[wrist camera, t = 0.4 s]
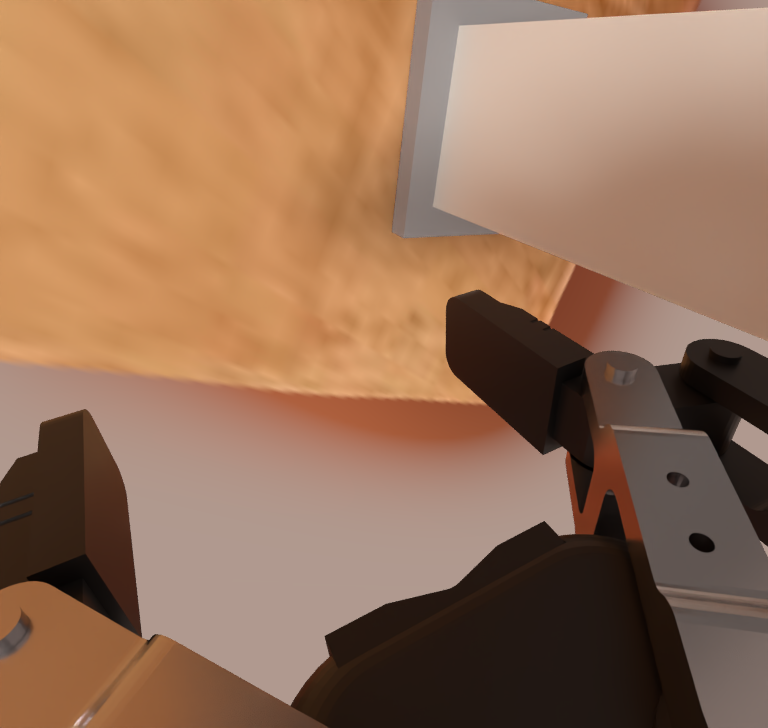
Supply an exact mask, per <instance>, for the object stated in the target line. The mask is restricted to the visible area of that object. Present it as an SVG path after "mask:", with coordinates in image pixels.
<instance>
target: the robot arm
mask: <svg viewBox="0 0 768 728" xmlns="http://www.w3.org/2000/svg"><path fill="white" fill-rule="evenodd" d="M446 358H447V361H448V364H449V367H450V369H451V370H452V372H453V373H454V375H455V376H456V377H457V378H459V379H460V380H461V381H462V382H463V383H464V384H465V385H466V386H467V387H468V388H470V389H471V390H472V391H473V392H474V393H475V394H476V395H477V396H478V397H479V398H481V399H482V400H483V401H484V402H485V403H486V404H487V405H488V406H489V407H491V408H492V409H493V410H494V411H495V412H496V413H497V414H498V415H499V416H501V417H502V418H503V419H504V420H505V421H506V422H507V423H508V424H509V425H510V426H512V427H513V428H514V429H515V430H516V431H517V432H518V433H519V434H520V435H521V436H523V437H524V438H525V439H526V440H527V441H528V442H529V443H530V444H531V445H532V446H534V447H535V448H536V449H537V450H538V451H539V452H540V453H541V454H543V455H544V454H546V453H548V452H551V451H553V450H555V449H557V448H559V447H562V446H563V447H564V448H565V449H566V450H567V454H566V459H565V464H566V471H567V478H568V484H569V491H570V498H571V504H572V511H573V518H574V524H575V534H572V535H561V536H558V535H557V534H556V533H555V532H554V531H553V529H552V528H551V527H550V526H549V525H548V524H547V523H546V522H545V521H544V522H542V523H540V524H538V525H536V526H534V527H532V528H530V529H528V530H526V531H524V532H522V533H521V534H519V535H517V536H515V537H513V538H511V539H509V540H507V541H505V542H503V543H501V544H500V545H498V546H497V547H495V548H494V549H493V550H492V551H491V552H490V553H489V554H488V555H487V556H486V557H485V558H484V559H483V560H482V561H481V562H480V563H479V564H478V565H477V566H476V567H475V568H474V569H473V570H472V571H471V572H470V573H469V574H467V576H465V577H464V578H463V579H462V580H461V581H460V582H459V583H458V584H457V585H456V586H454V587H452V588H450V589H447V590H443V591H439V592H434V593H430V594H426V595H422V596H418V597H413V598H409V599H405V600H401V601H396V602H392V603H388V604H385V605H383V606H382V607H379V608H377V609H375V610H373V611H372V612H370V613H368V614H366V615H364V616H362V617H360V618H358V619H356V620H354V621H353V622H351V623H349V624H347V625H345V626H343V627H341V628H339V629H337V630H335V631H334V632H332V633H330V634H328V635H326V636H325V640H326V644H327V648H328V652H329V656H330V657H329V658H328V659H327V660H326V661H325V662H324V663H323V664H321V665H320V666H319V667H318V668H317V670H316V671H315V672H314V673H313V674H312V676H311V677H310V678H309V679H308V680H307V681H306V682H305V684H304V685H303V687H302V688H301V690H300V691H299V693H298V694H297V696H296V697H295V699H294V700H293V702H292V704H291V706H289V705H288V704H286V703H284V702H282V701H281V700H279V699H277V698H275V697H273V696H272V695H270V694H268V693H266V692H264V691H262V690H261V689H259V688H257V687H256V686H254V685H252V684H250V683H248V682H247V681H245V680H243V679H241V678H239V677H238V676H236V675H234V674H233V673H231V672H229V671H227V670H226V669H224V668H222V667H220V666H218V665H217V664H215V663H213V662H211V661H209V660H208V659H206V658H204V657H202V656H201V655H199V654H197V653H195V652H193V651H192V650H190V649H188V648H186V647H185V646H183V645H181V644H179V643H178V642H176V641H174V640H172V639H170V638H168V637H166V636H163V635H158V634H155V635H153V636H152V637H151V639H150V640H146V639H143V638H142V633H141V624H140V615H139V605H138V596H137V587H136V578H135V569H134V559H133V550H132V540H131V532H130V523H129V513H128V503H127V495H126V490H125V486H124V483H123V479H122V477H121V474H120V471H119V469H118V466H117V464H116V463H115V461H114V459H113V457H112V455H111V453H110V451H109V449H108V447H107V445H106V443H105V441H104V439H103V437H102V435H101V433H100V431H99V429H98V427H97V426H96V424H95V422H94V420H93V418H92V416H91V414H90V413H89V412H88V411H87V410H86V409H84V410H81V411H77V412H74V413H71V414H67V415H64V416H61V417H57V418H54V419H51V420H48V421H44V422H42V423H41V424H40V431H39V442H38V452H36V453H33V454H30V455H27V456H24V457H20V458H18V459H17V460H16V461H15V463H14V464H13V466H12V467H11V468H10V470H9V471H8V473H7V474H6V475H5V477H4V478H3V480H2V481H1V483H0V728H768V557H767V555H766V553H765V551H764V548H763V546H762V544H761V542H760V541H762V542H763V543H764V544H765V545H767V546H768V464H766V463H765V462H763V461H762V460H760V459H759V458H757V457H756V456H755V455H753V454H751V453H750V452H749V451H747V450H746V449H744V448H743V447H741V446H740V445H738V444H736V443H735V442H734V441H732V438H733V435H734V433H735V431H736V429H737V427H738V424H739V422H740V420H741V418H743V419H744V420H746V421H747V422H749V423H751V424H752V425H754V426H756V427H757V428H759V429H760V430H762V431H764V432H765V433H767V434H768V358H766V357H764V356H762V355H760V354H758V353H757V352H755V351H753V350H750V349H749V348H746V347H744V346H742V345H739V344H736V343H733V342H729V341H725V340H718V339H702V340H697V341H694V342H692V343H690V344H689V345H688V346H687V348H686V351H685V354H684V357H683V360H682V363H677V364H669V365H661V366H653V365H652V364H651V363H650V362H649V361H647V360H645V359H644V358H641V357H639V356H637V355H634V354H630V353H626V352H621V351H604V352H599V353H596V354H594V353H592V352H590V351H589V350H587V349H585V348H584V347H582V346H581V345H579V344H578V343H576V342H574V341H572V340H571V339H569V338H568V337H566V336H565V335H563V334H561V333H560V332H558V331H556V330H555V329H551V328H550V326H549V325H547V324H545V323H544V322H542V321H538V319H537V318H536V317H534V316H532V315H531V314H529V313H528V312H526V311H524V310H523V309H520V308H517V307H514V306H511V305H507V304H504V303H500V302H499V301H497V300H495V299H494V298H492V297H491V296H489V295H488V294H486V293H484V292H483V291H481V290H475V291H471V292H468V293H465V294H462V295H458V296H455V297H452V298H450V299H449V300H448V302H447V306H446Z"/></svg>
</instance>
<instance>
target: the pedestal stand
mask: <svg viewBox="0 0 768 728" xmlns="http://www.w3.org/2000/svg"><path fill="white" fill-rule="evenodd" d="M587 15H588V14H586V13H582V12H578V11H574V10H570V9H567V8H563V7H559V6H555V5H551V4H547V3H544V2H540V1H536V0H418V1H417V10H416V19H415V28H414V37H413V46H412V55H411V64H410V73H409V82H408V91H407V100H406V109H405V118H404V127H403V136H402V145H401V154H400V163H399V172H398V181H397V190H396V199H395V208H394V217H393V226H392V232H393V233H394V234H396V235H398V236H400V237H402V238H418V237H439V236H461V235H483V234H502V235H504V236H507V237H509V238H512V239H514V240H517V241H519V242H522V243H524V244H527V245H529V246H532V247H534V248H537V249H539V250H542V251H544V252H547V253H549V254H552V255H554V256H557V257H559V258H562V259H564V260H567V261H569V262H572V263H574V264H577V265H579V266H582V267H584V268H587V269H589V270H592V271H595V272H597V273H599V274H602V275H604V276H607V277H609V278H612V279H614V280H617V281H619V282H622V283H624V284H627V285H629V286H632V287H634V288H637V289H639V290H642V291H644V292H647V293H649V294H652V295H654V296H657V297H659V298H662V299H664V300H667V301H669V302H672V303H674V304H677V305H679V306H682V307H684V308H687V309H689V310H692V311H694V312H696V313H699V314H701V315H704V316H707V317H709V318H711V319H714V320H717V321H719V322H721V323H724V324H727V325H729V326H731V327H734V328H736V329H739V330H741V331H744V332H746V333H749V334H751V335H754V336H757V337H759V338H761V339H764V340H766V341H768V8H751V9H734V10H717V11H702V12H701V11H700V12H683V13H666V14H649V15H632V16H615V17H598V18H587Z"/></svg>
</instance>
